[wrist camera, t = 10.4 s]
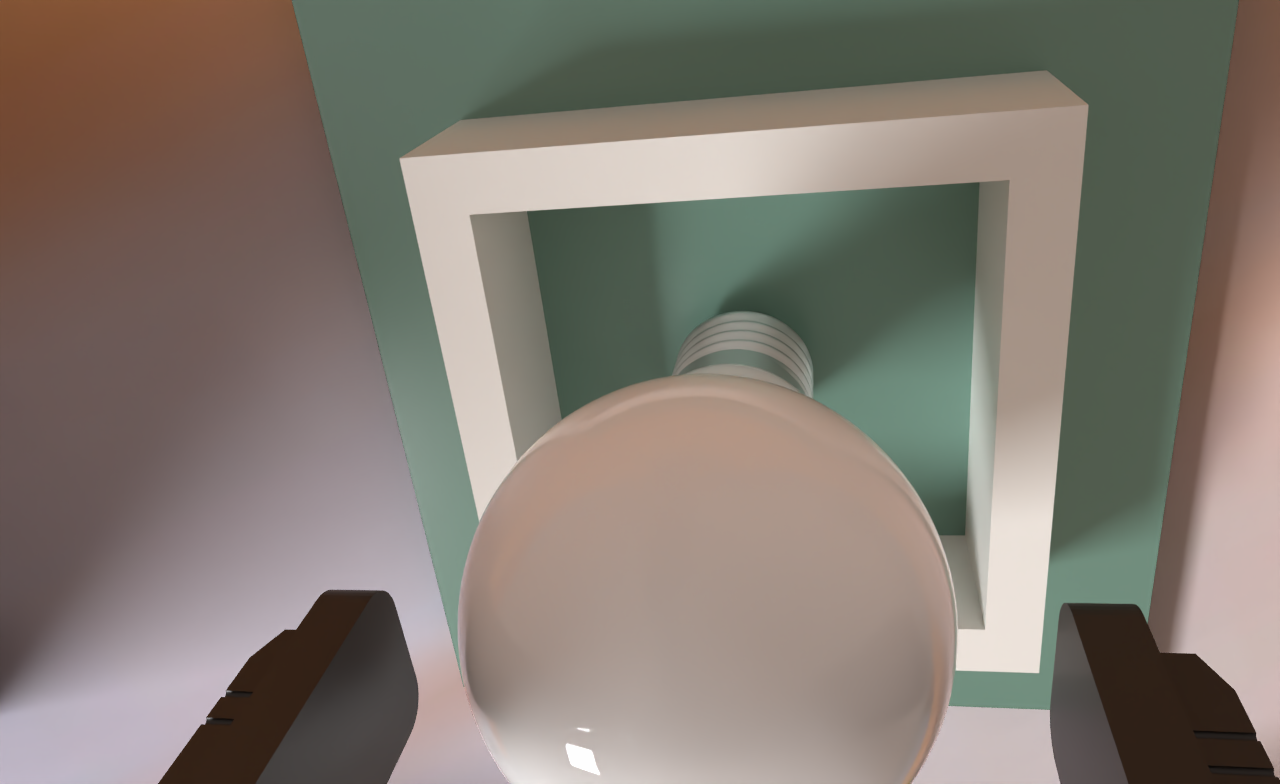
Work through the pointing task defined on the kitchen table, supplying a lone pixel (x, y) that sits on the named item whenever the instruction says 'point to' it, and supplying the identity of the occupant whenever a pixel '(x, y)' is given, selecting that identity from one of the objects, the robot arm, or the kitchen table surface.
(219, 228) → the kitchen table surface
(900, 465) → the board
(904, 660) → the lightbulb
